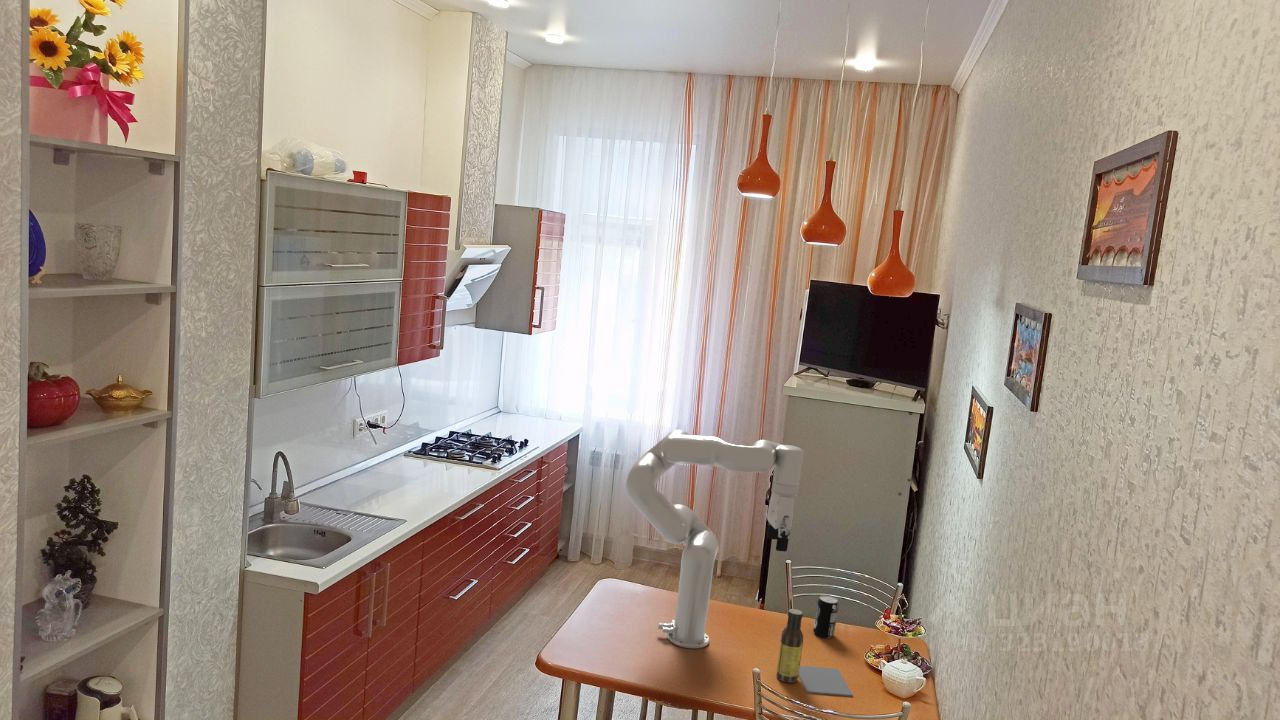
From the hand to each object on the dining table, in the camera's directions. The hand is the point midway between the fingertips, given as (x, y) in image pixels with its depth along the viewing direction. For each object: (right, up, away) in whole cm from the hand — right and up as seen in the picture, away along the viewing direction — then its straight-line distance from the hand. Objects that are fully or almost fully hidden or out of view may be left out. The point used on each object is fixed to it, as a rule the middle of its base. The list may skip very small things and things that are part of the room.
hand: (776, 544), depth 269 cm
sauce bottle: (+2, -36, -8) cm, 37 cm away
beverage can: (+18, -34, +24) cm, 45 cm away
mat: (+12, -37, -7) cm, 40 cm away
